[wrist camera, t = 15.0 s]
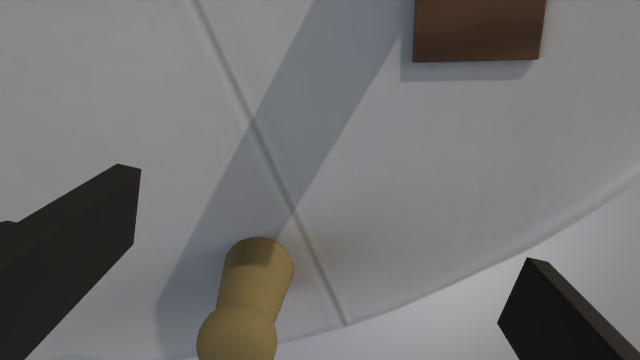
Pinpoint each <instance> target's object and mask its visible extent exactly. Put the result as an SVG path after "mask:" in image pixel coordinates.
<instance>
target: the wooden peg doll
mask: <svg viewBox="0 0 640 360" xmlns="http://www.w3.org/2000/svg"><path fill="white" fill-rule="evenodd" d="M292 276H293V263H292V260H291V258H290V255H289V254H288V253H287V251H286V250H285V249H284V248H283V247H282V246H281V245H279V244H277V243H276V242H274V241H272V240H268V239H265V238H249V239H246V240H242V241H240V242H239V243H237V244H236V245H234V246H233V247H232V248H231V249H230V251H229V252H228V254H227V255H226V259H225V263H224V267H223V273H222V278H221V283H220V288H219V294H218V299H217V304H216V309H215V310H214V311H213V312H212V313H211V314H210V315H209V316H208V317H207V319H206V320H205V321H204V323H203V324H202V326H201V328H200V330H199V334H198V338H197V344H196V348H197V355H198V358H199V360H273V359H274V356H275V353H276V349H277V333H276V328H275V326H274V323H275V320H276V318H277V315H278V313H279V310H280V308H281V305H282V302H283V300H284V297H285V295H286V292H287V289H288V287H289V284H290V282H291V279H292Z"/></svg>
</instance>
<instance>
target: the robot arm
mask: <svg viewBox="0 0 640 360" xmlns="http://www.w3.org/2000/svg"><path fill="white" fill-rule="evenodd" d="M140 177H141V169H139V168H134V167H130V166H126V165H121V164H116V165H114V166H112V167H111V168H109V169H107V170H106V171H104V172H102V173H101V174H99V175H97V176H95V177H94V178H92V179H90V180H89V181H87V182H85V183H84V184H82V185H80V186H78V187H77V188H75V189H73V190H72V191H70V192H68V193H67V194H65V195H63V196H62V197H60V198H58V199H56V200H55V201H53V202H51V203H50V204H48V205H46V206H45V207H43V208H41V209H40V210H38V211H36V212H34V213H33V214H31V215H29V216H28V217H26V218H24V219H23V220H21V221H19V222H18V223H16V222H12V221H4V222H0V360H24V359H25V358H26V357H27V356H28V355H29V354H30V353H31V352H32V351H33V350H34V349H35V348H36V347H37V346H38V345H39V344H40V342H41V341H42V340H43V339H44V338H45V337H46V336H47V335H48V334H49V333H50V332H51V331H52V330H53V329H54V328H55V327H56V326H57V324H58V323H59V322H60V321H61V320H62V319H63V318H64V317H65V316H66V315H67V314H68V313H69V312H70V311H71V310H72V309H73V308H74V306H75V305H76V304H77V303H78V302H79V301H80V300H81V299H82V298H83V297H84V296H85V295H86V294H87V293H88V292H89V291H90V290H91V288H92V287H93V286H94V285H95V284H96V283H97V282H98V281H99V280H100V279H101V278H102V277H103V276H104V275H105V274H106V273H107V272H108V270H109V269H110V268H111V267H112V266H113V265H114V264H115V263H116V262H117V261H118V260H119V259H120V258H121V257H122V256H123V255H124V253H125V252H126V251H127V250H128V249H129V248H130V247H131V246H132V245H133V242H134V233H135V223H136V214H137V205H138V196H139V186H140ZM497 324H498V325H499V327H500V329H501V330H502V332H503V333H504V335H505V337H506V338H507V340H508V342H509V343H510V345H511V346H512V348H513V350H514V351H515V353H516V355H517V356H518V358H519V360H640V353H639V352H638V351H637V350H636V349H635V348H634V347H633V346H632V345H631V344H630V343H629V342H628V341H627V340H626V339H625V338H624V337H623V336H622V335H621V334H620V333H619V332H618V331H617V330H616V329H615V328H614V327H613V326H612V325H611V324H610V323H609V322H608V321H607V320H606V319H605V318H604V317H603V316H602V315H601V314H600V313H599V312H598V311H597V310H596V309H595V308H594V307H593V306H592V305H591V304H590V303H589V302H588V301H587V300H586V299H585V298H584V297H583V296H582V295H581V294H580V293H579V292H578V291H577V290H576V289H575V288H574V287H573V286H572V285H571V284H570V283H569V282H568V281H567V280H566V279H565V278H564V277H563V276H562V275H561V274H560V273H559V272H558V271H557V270H556V269H555V268H554V267H553V266H552V265H551V264H550V263H549V262H546V261H542V260H537V259H532V258H528V257H527V258H526V261H525V263H524V265H523V267H522V270H521V271H520V274H519V276H518V278H517V280H516V282H515V285H514V287H513V289H512V291H511V294H510V296H509V298H508V300H507V302H506V304H505V307H504V309H503V311H502V313H501V316H500V318H499V320H498V322H497Z"/></svg>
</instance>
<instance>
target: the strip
mask: <svg viewBox="0 0 640 360" xmlns="http://www.w3.org/2000/svg"><path fill="white" fill-rule="evenodd" d="M546 3H547V0H415V16H414V38H413V59H412V62H453V61H493V60H534V59H539V53H540V46H541V38H542V31H543V24H544V17H545V10H546Z"/></svg>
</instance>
